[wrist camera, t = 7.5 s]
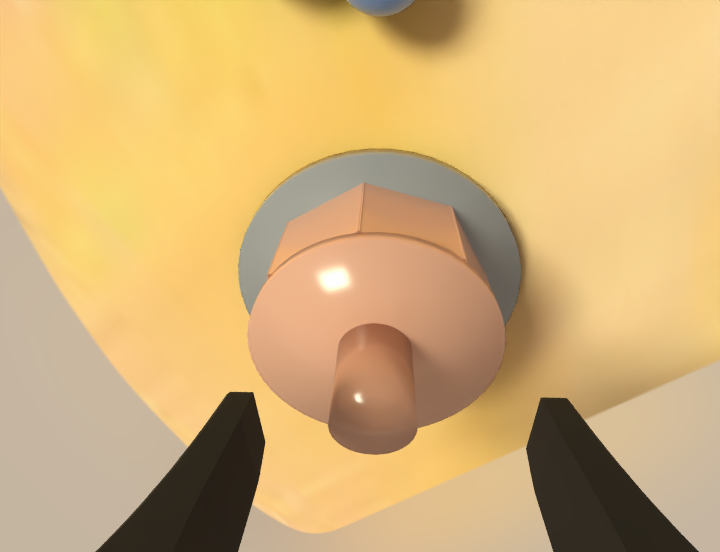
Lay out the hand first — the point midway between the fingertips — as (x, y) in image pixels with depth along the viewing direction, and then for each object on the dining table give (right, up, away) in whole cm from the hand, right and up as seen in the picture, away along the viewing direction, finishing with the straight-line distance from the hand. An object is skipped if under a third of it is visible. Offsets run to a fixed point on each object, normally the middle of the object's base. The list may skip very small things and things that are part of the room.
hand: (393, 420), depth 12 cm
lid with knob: (0, +3, +9) cm, 10 cm away
